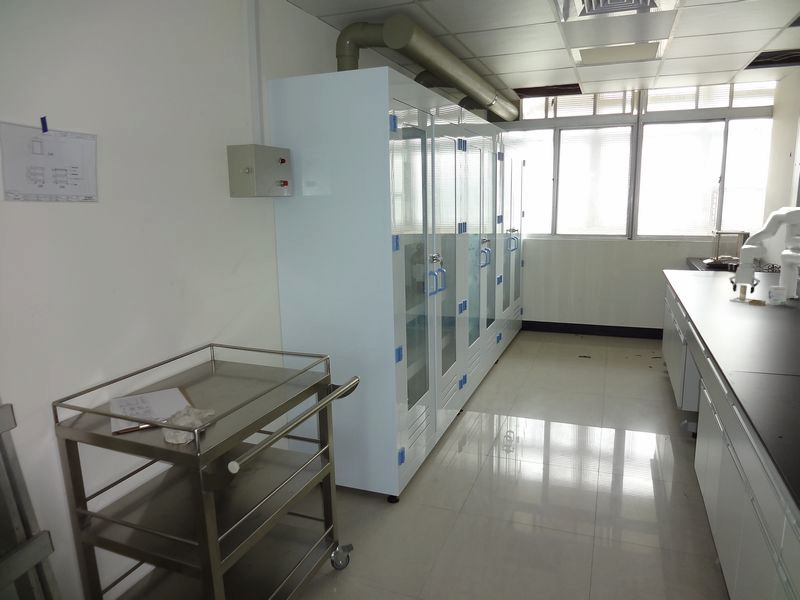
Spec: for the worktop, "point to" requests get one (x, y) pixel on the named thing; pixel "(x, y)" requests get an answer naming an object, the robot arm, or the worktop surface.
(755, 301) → the shallow wooden box
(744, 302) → the tray
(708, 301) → the worktop surface
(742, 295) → the dowel
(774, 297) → the ink box
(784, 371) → the worktop surface
